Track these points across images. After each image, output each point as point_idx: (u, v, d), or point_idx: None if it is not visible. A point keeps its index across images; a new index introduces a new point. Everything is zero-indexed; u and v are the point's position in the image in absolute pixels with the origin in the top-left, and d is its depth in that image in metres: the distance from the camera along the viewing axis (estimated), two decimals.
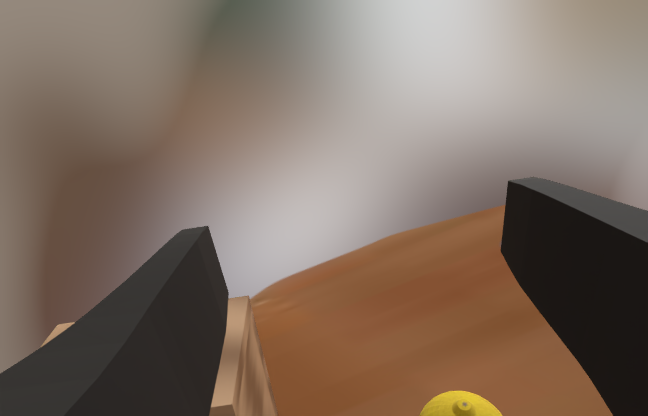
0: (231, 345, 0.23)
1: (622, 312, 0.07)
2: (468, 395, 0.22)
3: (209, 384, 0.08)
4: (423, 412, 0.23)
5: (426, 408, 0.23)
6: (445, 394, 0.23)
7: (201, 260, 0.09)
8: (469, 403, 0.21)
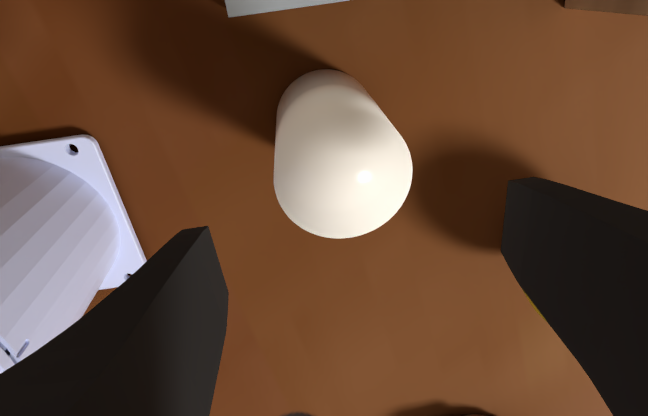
0: None
1: (622, 312, 0.07)
2: None
3: (209, 384, 0.08)
4: None
5: None
6: None
7: (201, 260, 0.09)
8: None
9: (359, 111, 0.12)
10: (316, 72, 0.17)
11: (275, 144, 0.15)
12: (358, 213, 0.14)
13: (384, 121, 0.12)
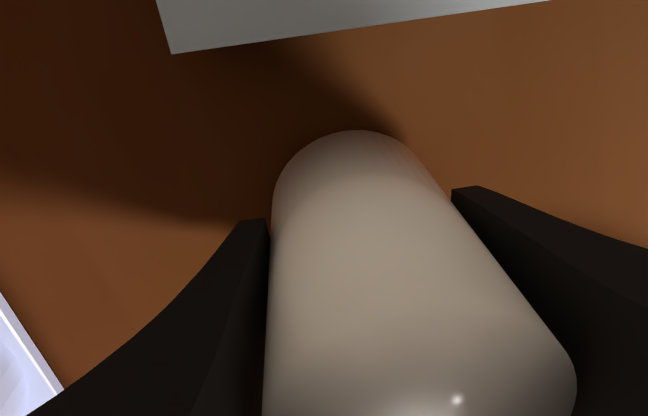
0: None
1: None
2: None
3: None
4: None
5: None
6: None
7: (264, 251, 0.09)
8: None
9: (474, 307, 0.05)
10: (340, 138, 0.10)
11: (267, 302, 0.07)
12: None
13: (531, 323, 0.05)
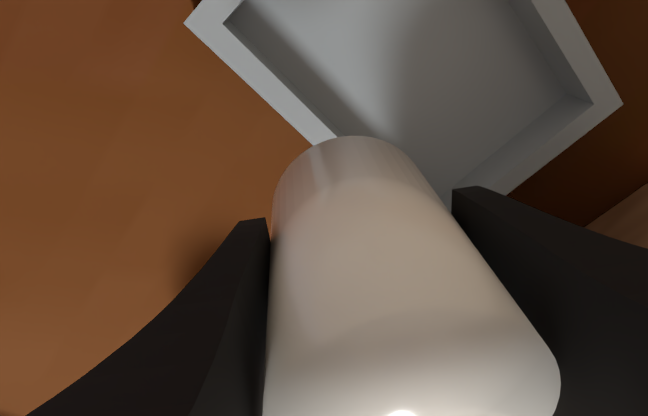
0: None
1: (542, 324, 0.07)
2: None
3: None
4: None
5: None
6: None
7: (264, 251, 0.09)
8: None
9: (478, 308, 0.05)
10: (347, 142, 0.10)
11: (270, 293, 0.08)
12: None
13: (527, 328, 0.05)
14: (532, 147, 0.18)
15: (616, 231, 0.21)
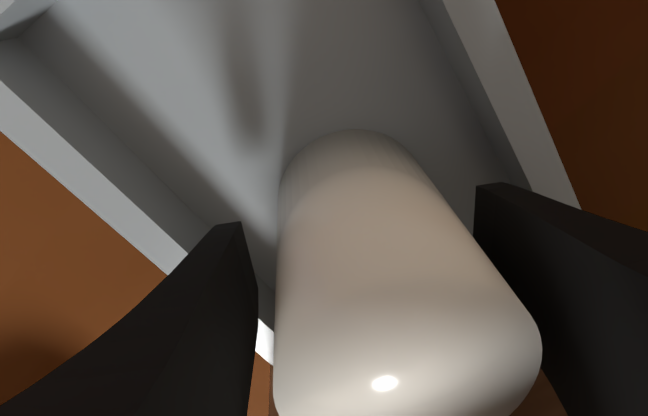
0: None
1: (576, 319, 0.07)
2: None
3: (247, 378, 0.08)
4: None
5: None
6: None
7: (237, 255, 0.09)
8: None
9: (466, 277, 0.06)
10: (349, 135, 0.11)
11: (278, 272, 0.08)
12: None
13: (510, 296, 0.06)
14: None
15: None
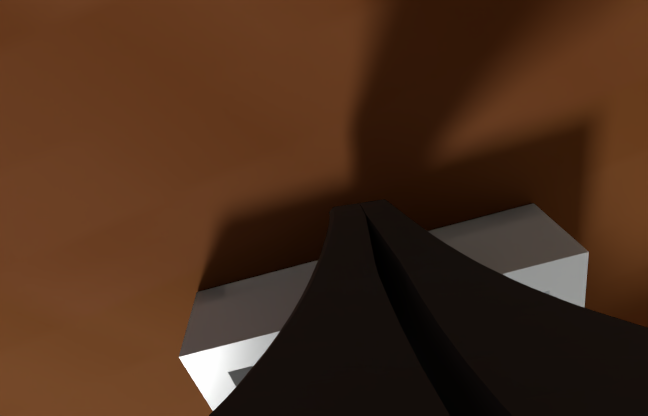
0: None
1: (411, 345, 0.07)
2: None
3: None
4: None
5: None
6: None
7: None
8: None
9: None
10: None
11: None
12: None
13: None
14: None
15: None
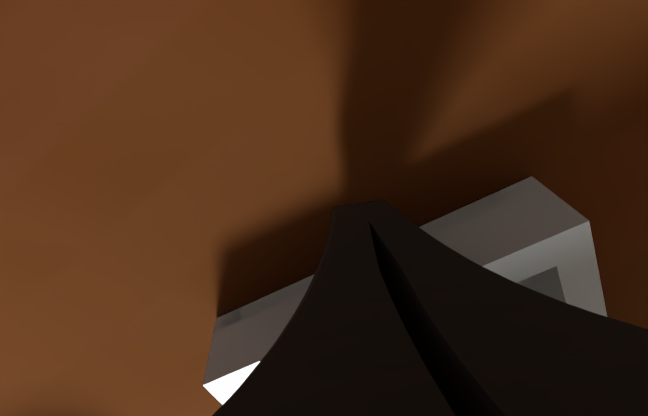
0: None
1: None
2: None
3: None
4: None
5: None
6: None
7: None
8: None
9: None
10: None
11: None
12: None
13: None
14: None
15: None
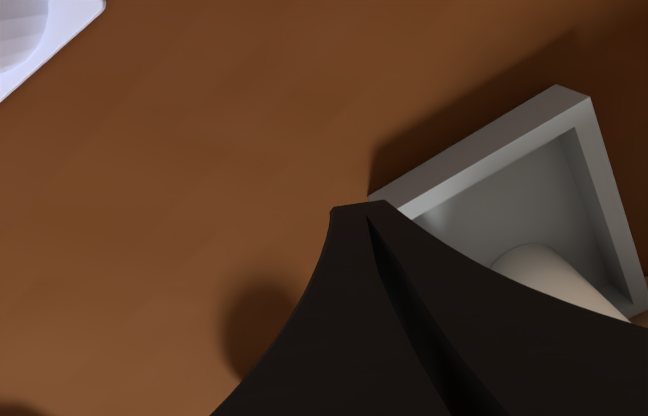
0: None
1: None
2: None
3: None
4: None
5: None
6: None
7: None
8: None
9: None
10: (534, 249, 0.22)
11: None
12: None
13: None
14: None
15: None
